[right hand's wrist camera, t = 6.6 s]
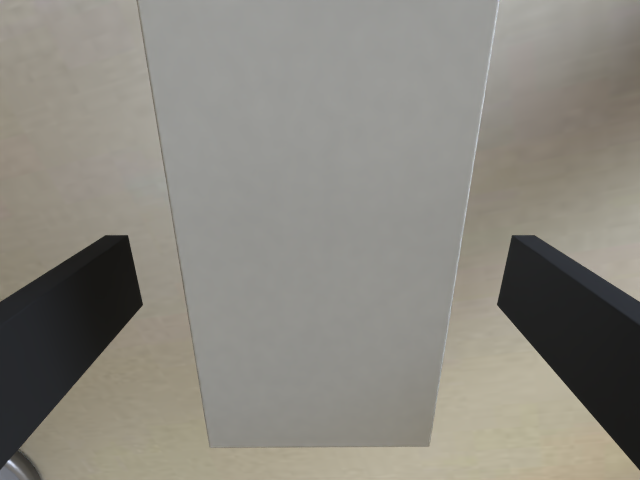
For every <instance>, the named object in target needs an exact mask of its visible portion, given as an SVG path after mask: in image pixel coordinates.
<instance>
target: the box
mask: <svg viewBox="0 0 640 480" xmlns="http://www.w3.org/2000/svg"><path fill="white" fill-rule="evenodd" d="M499 1H500V0H137V5H138V11H139V17H140V23H141V30H142V36H143V42H144V48H145V54H146V60H147V66H148V72H149V79H150V85H151V91H152V97H153V103H154V109H155V115H156V122H157V128H158V134H159V140H160V146H161V152H162V158H163V164H164V171H165V177H166V183H167V189H168V195H169V201H170V207H171V213H172V220H173V226H174V232H175V238H176V244H177V250H178V256H179V263H180V269H181V275H182V281H183V287H184V293H185V299H186V305H187V312H188V318H189V324H190V330H191V336H192V342H193V348H194V354H195V361H196V367H197V373H198V379H199V385H200V391H201V397H202V403H203V410H204V416H205V422H206V428H207V434H208V440H209V446H210V447H211V448H257V447H428V446H430V440H431V433H432V427H433V421H434V414H435V408H436V401H437V395H438V389H439V382H440V376H441V370H442V363H443V357H444V351H445V344H446V338H447V331H448V325H449V319H450V312H451V306H452V300H453V293H454V287H455V281H456V274H457V268H458V261H459V255H460V249H461V242H462V236H463V230H464V223H465V217H466V211H467V204H468V198H469V191H470V185H471V179H472V172H473V166H474V160H475V153H476V147H477V141H478V134H479V128H480V121H481V115H482V109H483V102H484V96H485V90H486V83H487V77H488V71H489V64H490V58H491V51H492V45H493V39H494V32H495V26H496V20H497V13H498V7H499Z"/></svg>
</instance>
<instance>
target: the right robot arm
mask: <svg viewBox="0 0 640 480" xmlns="http://www.w3.org/2000/svg"><path fill="white" fill-rule="evenodd" d="M142 305H143V303H142V298H141V294H140V289H139V285H138V280H137V275H136V271H135V266H134V261H133V257H132V252H131V247H130V243H129V238H128V235H105V236H104V237H102V238H101V239H99V240H97V241H96V242H94V243H93V244H91V245H90V246H88V247H86V248H85V249H83V250H82V251H80V252H78V253H77V254H75V255H74V256H72V257H71V258H69V259H67V260H66V261H64V262H63V263H61V264H59V265H58V266H56V267H55V268H53V269H52V270H50V271H48V272H47V273H45V274H44V275H42V276H41V277H39V278H37V279H36V280H34V281H33V282H31V283H29V284H28V285H26V286H25V287H23V288H22V289H20V290H18V291H17V292H15V293H14V294H12V295H10V296H9V297H7V298H6V299H4V300H3V301H1V302H0V480H40V477H39V475H38V473H37V471H36V470H35V468H34V467H33V465H32V464H31V463H30V462H29V461H28V460H27V459H26V458H25V457H24V456H23V455H22V454H21V453H20V452H18V451H17V450H18V449H19V448H20V447H21V446H22V444H23V443H24V442H25V441H26V440H27V439H28V437H29V436H30V435H31V434H32V433H33V432H34V431H35V429H36V428H37V427H38V426H39V425H40V424H41V422H42V421H43V420H44V419H45V418H46V417H47V415H48V414H49V413H50V412H51V411H52V410H53V408H54V407H55V406H56V405H57V404H58V403H59V402H60V400H61V399H62V398H63V397H64V396H65V395H66V393H67V392H68V391H69V390H70V389H71V388H72V386H73V385H74V384H75V383H76V382H77V381H78V380H79V378H80V377H81V376H82V375H83V374H84V373H85V371H86V370H87V369H88V368H89V367H90V366H91V364H92V363H93V362H94V361H95V360H96V359H97V357H98V356H99V355H100V354H101V353H102V352H103V351H104V349H105V348H106V347H107V346H108V345H109V344H110V342H111V341H112V340H113V339H114V338H115V337H116V335H117V334H118V333H119V332H120V331H121V330H122V329H123V327H124V326H125V325H126V324H127V323H128V322H129V320H130V319H131V318H132V317H133V316H134V315H135V313H136V312H137V311H138V310H139V309H140V308H141V306H142ZM497 305H498V306H499V308H500V309H501V310H502V311H503V312H504V313H505V315H506V316H507V317H508V318H509V319H510V320H511V322H512V323H513V324H514V325H515V326H516V327H517V329H518V330H519V331H520V332H521V333H522V334H523V335H524V337H525V338H526V339H527V340H528V341H529V342H530V344H531V345H532V346H533V347H534V348H535V349H536V351H537V352H538V353H539V354H540V355H541V356H542V357H543V359H544V360H545V361H546V362H547V363H548V364H549V366H550V367H551V368H552V369H553V370H554V371H555V373H556V374H557V375H558V376H559V377H560V378H561V380H562V381H563V382H564V383H565V384H566V385H567V386H568V388H569V389H570V390H571V391H572V392H573V393H574V395H575V396H576V397H577V398H578V399H579V400H580V402H581V403H582V404H583V405H584V406H585V407H586V408H587V410H588V411H589V412H590V413H591V414H592V415H593V417H594V418H595V419H596V420H597V421H598V422H599V424H600V425H601V426H602V427H603V428H604V429H605V431H606V432H607V433H608V434H609V435H610V436H611V437H612V439H613V440H614V441H615V442H616V443H617V444H618V446H619V447H620V448H621V449H622V450H623V451H624V453H625V454H626V455H627V456H628V457H629V458H630V459H631V461H632V462H633V463H634V464H635V465H636V466H637V468H638V469H639V470H640V302H639V301H637V300H636V299H634V298H633V297H631V296H629V295H628V294H626V293H625V292H623V291H622V290H620V289H618V288H617V287H615V286H614V285H612V284H611V283H609V282H607V281H606V280H604V279H603V278H601V277H599V276H598V275H596V274H595V273H593V272H592V271H590V270H588V269H587V268H585V267H584V266H582V265H581V264H579V263H577V262H576V261H574V260H573V259H571V258H569V257H568V256H566V255H565V254H563V253H562V252H560V251H558V250H557V249H555V248H554V247H552V246H550V245H549V244H547V243H546V242H544V241H543V240H541V239H539V238H538V237H536V236H535V235H512V238H511V243H510V247H509V252H508V257H507V261H506V266H505V271H504V275H503V280H502V285H501V289H500V294H499V298H498V303H497Z"/></svg>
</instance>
